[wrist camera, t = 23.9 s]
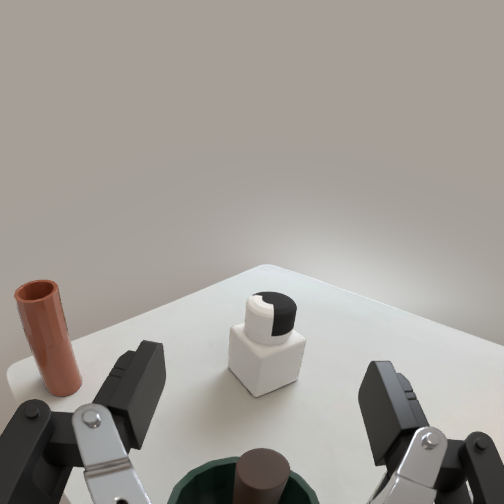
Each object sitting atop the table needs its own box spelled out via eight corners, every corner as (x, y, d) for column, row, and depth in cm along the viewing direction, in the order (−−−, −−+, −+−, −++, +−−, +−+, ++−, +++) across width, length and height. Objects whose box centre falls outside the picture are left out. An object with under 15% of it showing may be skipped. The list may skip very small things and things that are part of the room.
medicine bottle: (268, 352, 45) (278, 281, 41) (298, 380, 39) (314, 305, 35) (227, 367, 41) (230, 292, 37) (255, 399, 35) (264, 321, 31)
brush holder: (45, 399, 29) (10, 305, 24) (45, 371, 33) (18, 282, 29) (84, 394, 32) (56, 299, 27) (80, 366, 36) (58, 277, 31)
